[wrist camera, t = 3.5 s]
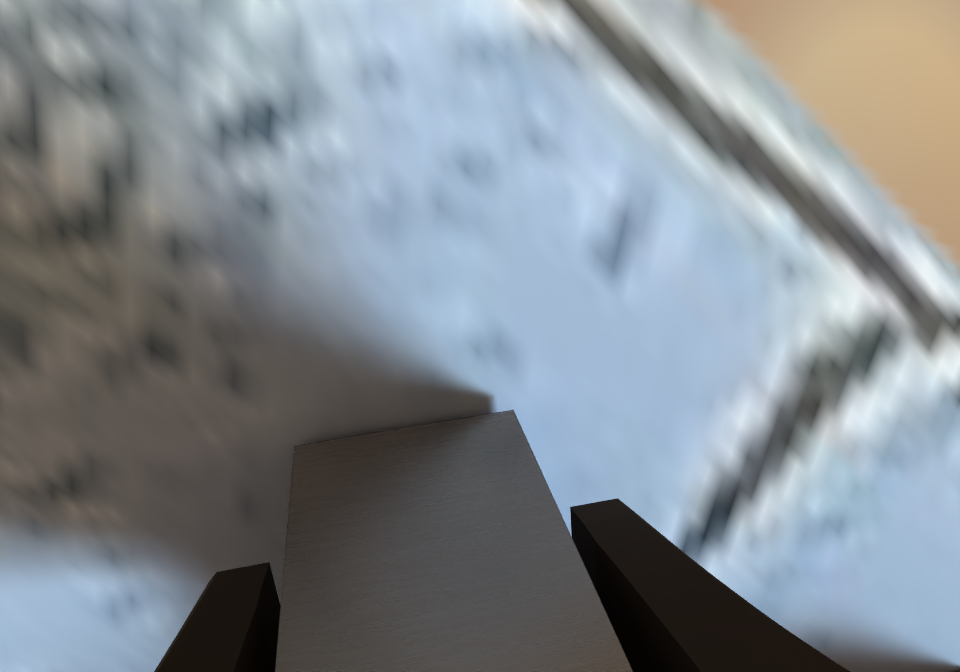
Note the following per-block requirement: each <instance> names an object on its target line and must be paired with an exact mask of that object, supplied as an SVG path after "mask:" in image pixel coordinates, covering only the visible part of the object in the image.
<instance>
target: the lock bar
mask: <svg viewBox="0 0 960 672" xmlns="http://www.w3.org/2000/svg"><path fill="white" fill-rule="evenodd" d="M275 672H633V671H632V669H631V666H630V664H629V662H628V660H627V658H626V655H625V653H624V651H623V649H622V647H621V644H620V642H619V640H618V638H617V636H616V634H615V631H614V629H613V627H612V625H611V623H610V620H609V618H608V616H607V614H606V612H605V609H604V607H603V605H602V603H601V601H600V598H599V596H598V594H597V592H596V590H595V588H594V585H593V583H592V581H591V579H590V577H589V574H588V572H587V570H586V568H585V566H584V563H583V561H582V559H581V557H580V555H579V552H578V550H577V548H576V546H575V544H574V542H573V539H572V537H571V535H570V533H569V531H568V528H567V526H566V524H565V522H564V520H563V517H562V515H561V513H560V511H559V509H558V506H557V504H556V502H555V500H554V498H553V496H552V493H551V491H550V489H549V487H548V485H547V482H546V480H545V478H544V476H543V474H542V471H541V469H540V467H539V465H538V463H537V460H536V458H535V456H534V454H533V452H532V450H531V447H530V445H529V443H528V441H527V439H526V436H525V434H524V432H523V430H522V428H521V425H520V423H519V421H518V419H517V417H516V414H515V412H514V410H510V411H504V412H497V413H491V414H485V415H479V416H473V417H467V418H461V419H455V420H449V421H443V422H437V423H431V424H425V425H419V426H413V427H407V428H401V429H395V430H389V431H383V432H377V433H371V434H365V435H358V436H352V437H346V438H340V439H334V440H328V441H322V442H316V443H310V444H304V445H298V446H294V455H293V467H292V479H291V491H290V502H289V514H288V526H287V538H286V550H285V561H284V573H283V585H282V597H281V609H280V620H279V632H278V644H277V656H276V668H275Z"/></svg>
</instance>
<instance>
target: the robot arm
mask: <svg viewBox="0 0 960 672" xmlns="http://www.w3.org/2000/svg"><path fill="white" fill-rule="evenodd" d="M570 509H571V530H572V539H573V542H574V544H575V546H576V548H577V550H578V552H579V555H580V557H581V559H582V561H583V563H584V566H585V568H586V570H587V572H588V574H589V577H590V579H591V581H592V583H593V585H594V588H595V590H596V592H597V594H598V596H599V598H600V601H601V603H602V605H603V607H604V609H605V612H606V614H607V616H608V618H609V620H610V623H611V625H612V627H613V629H614V631H615V634H616V636H617V638H618V640H619V642H620V644H621V647H622V649H623V651H624V653H625V655H626V658H627V660H628V662H629V664H630V666H631V669H632V671H633V672H850V671H848V670H847V669H845V668H843V667H842V666H840V665H839V664H837V663H835V662H834V661H832V660H831V659H829V658H828V657H826V656H825V655H823V654H822V653H820V652H819V651H817V650H816V649H814V648H813V647H811V646H810V645H808V644H807V643H805V642H804V641H802V640H801V639H799V638H798V637H796V636H795V635H793V634H792V633H790V632H789V631H787V630H786V629H785V628H783V627H782V626H780V625H779V624H778V623H776V622H775V621H773V620H772V619H771V618H769V617H768V616H766V615H765V614H764V613H762V612H761V611H759V610H758V609H757V608H755V607H754V606H753V605H751V604H750V603H749V602H747V601H746V600H745V599H743V598H742V597H741V596H739V595H738V594H737V593H735V592H734V591H733V590H731V589H730V588H729V587H727V586H726V585H725V584H723V583H722V582H721V581H719V580H718V579H717V578H715V577H714V576H713V575H712V574H710V573H709V572H708V571H706V570H705V569H704V568H703V567H701V566H700V565H699V564H698V563H696V562H695V561H694V560H693V559H691V558H690V557H689V556H688V555H686V554H685V553H684V552H683V551H681V550H680V549H679V548H678V547H676V546H675V545H674V544H673V543H671V542H670V541H669V540H668V539H667V538H665V537H664V536H663V535H662V534H661V533H659V532H658V531H657V530H656V529H654V528H653V527H652V526H651V525H650V524H648V523H647V522H646V521H645V520H644V519H642V518H641V517H640V516H639V515H638V514H636V513H635V512H634V511H633V510H631V509H630V508H629V507H628V506H626V505H625V504H624V503H623V502H621V501H620V500H619V499H612V500H606V501H601V502H596V503H590V504H585V505H579V506H574V507H570ZM280 609H281V607H280V603H279V599H278V595H277V591H276V587H275V583H274V579H273V575H272V571H271V567H270V563H264V564H258V565H253V566H247V567H242V568H236V569H231V570H226V571H220V572H217V573H216V574H215V575H214V576H213V578H212V579H211V580H210V581H209V583H208V585H207V586H206V588H205V590H204V591H203V593H202V595H201V596H200V598H199V600H198V601H197V603H196V605H195V606H194V608H193V610H192V611H191V613H190V615H189V616H188V618H187V620H186V621H185V623H184V625H183V626H182V628H181V629H180V631H179V633H178V634H177V636H176V638H175V639H174V641H173V642H172V644H171V646H170V647H169V649H168V650H167V652H166V654H165V655H164V657H163V658H162V660H161V662H160V663H159V665H158V666H157V668H156V670H155V671H154V672H275V668H276V656H277V644H278V632H279V620H280Z"/></svg>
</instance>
